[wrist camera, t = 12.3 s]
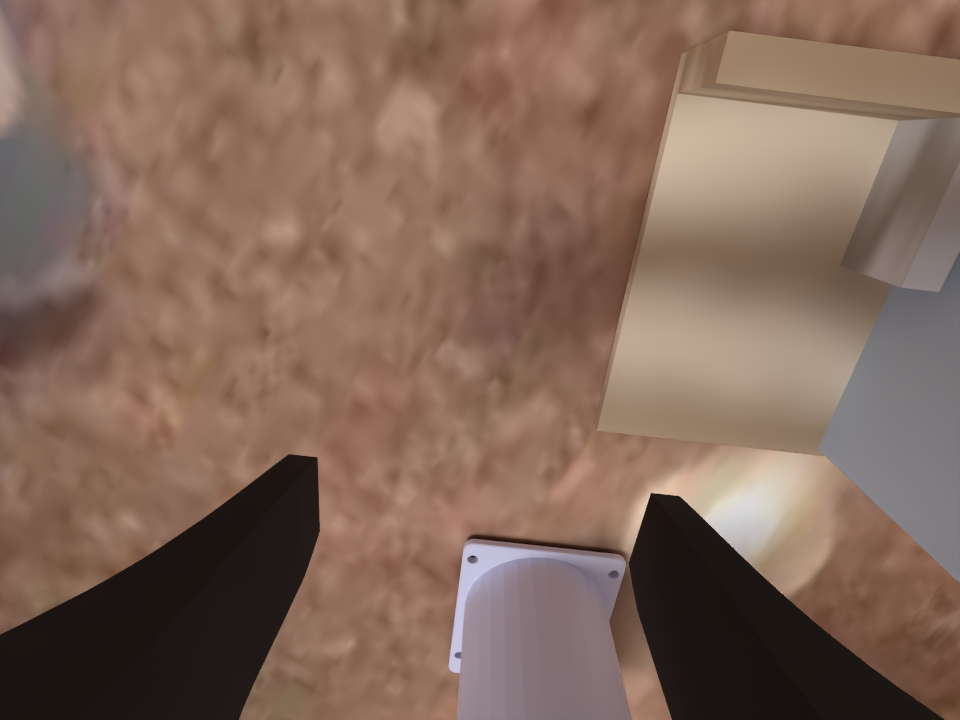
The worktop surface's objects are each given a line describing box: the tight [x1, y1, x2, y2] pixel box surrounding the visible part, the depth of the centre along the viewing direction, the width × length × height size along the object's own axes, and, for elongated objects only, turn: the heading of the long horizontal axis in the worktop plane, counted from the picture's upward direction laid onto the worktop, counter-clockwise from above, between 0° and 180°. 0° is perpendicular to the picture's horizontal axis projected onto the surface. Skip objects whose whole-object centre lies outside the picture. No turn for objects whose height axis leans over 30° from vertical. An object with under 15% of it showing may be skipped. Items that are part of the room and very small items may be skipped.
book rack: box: [594, 31, 960, 456], centre depth 17 cm, size 14×16×4 cm
